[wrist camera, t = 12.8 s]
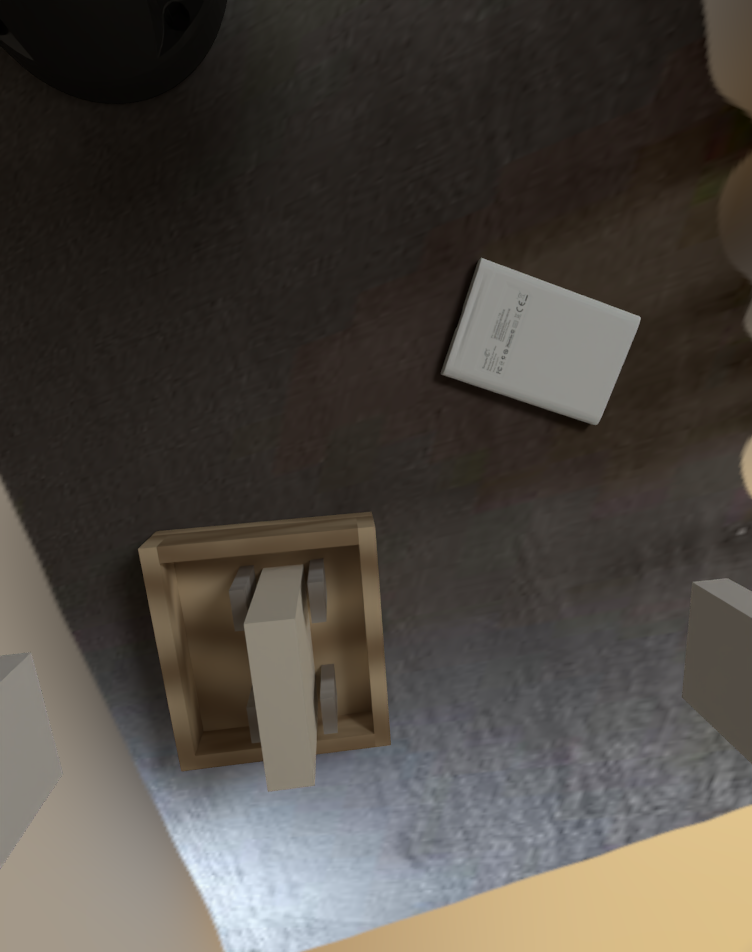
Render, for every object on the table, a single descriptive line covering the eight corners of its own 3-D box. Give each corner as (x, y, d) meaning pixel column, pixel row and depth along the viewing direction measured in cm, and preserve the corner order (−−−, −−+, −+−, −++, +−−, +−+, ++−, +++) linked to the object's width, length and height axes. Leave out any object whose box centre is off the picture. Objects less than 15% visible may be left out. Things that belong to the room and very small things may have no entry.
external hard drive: (587, 423, 37) (438, 374, 36) (629, 318, 36) (476, 260, 34) (598, 426, 36) (443, 374, 34) (643, 316, 34) (483, 256, 32)
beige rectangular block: (262, 568, 36) (243, 624, 28) (303, 564, 36) (295, 618, 29) (280, 706, 39) (267, 791, 31) (318, 701, 39) (314, 785, 31)
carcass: (156, 531, 36) (128, 557, 31) (371, 511, 37) (376, 534, 32) (194, 736, 40) (175, 788, 35) (385, 713, 41) (393, 760, 36)
